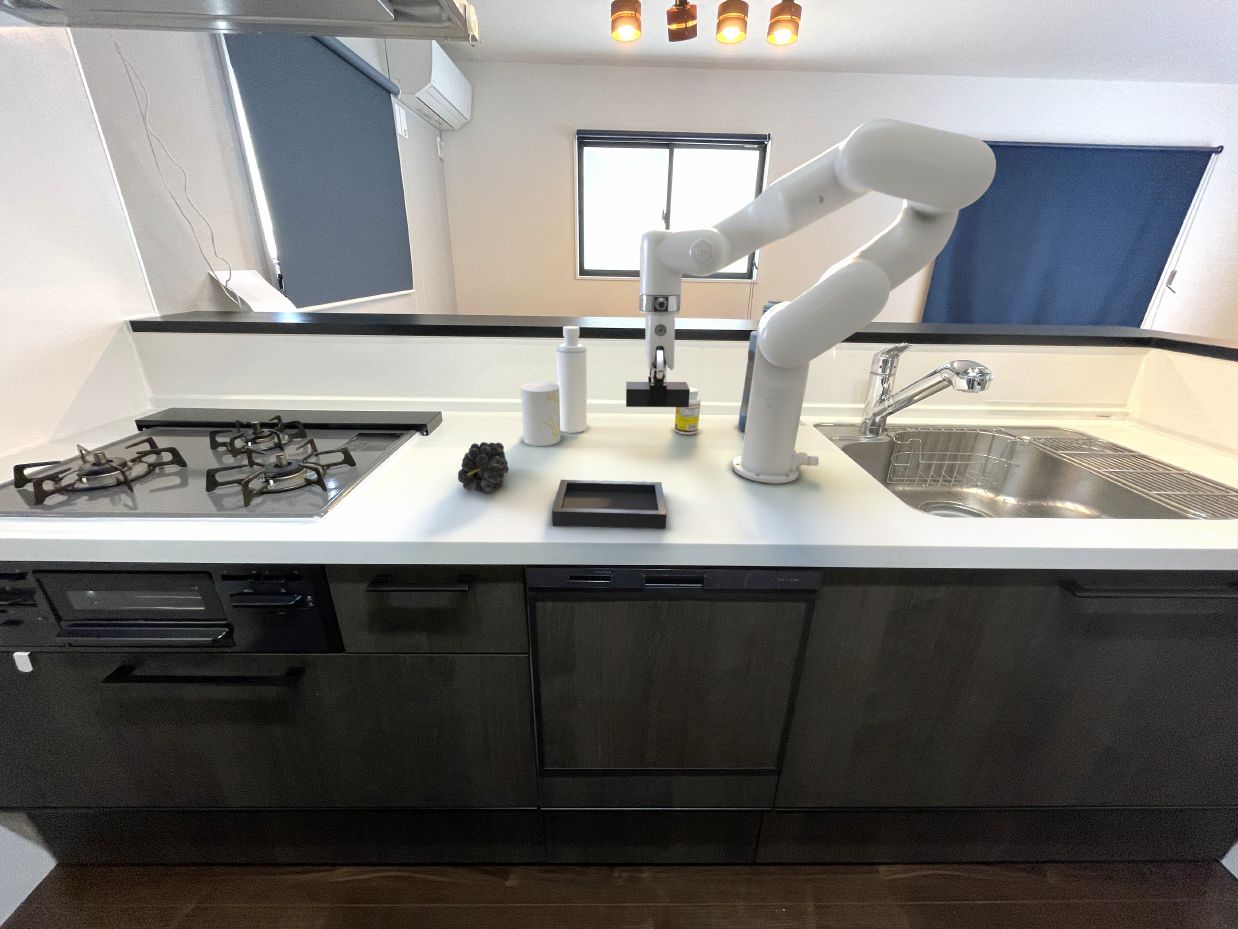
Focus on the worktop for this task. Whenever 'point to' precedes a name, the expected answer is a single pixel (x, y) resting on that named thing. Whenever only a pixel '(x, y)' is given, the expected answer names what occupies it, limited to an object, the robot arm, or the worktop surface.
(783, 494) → the worktop surface
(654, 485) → the shallow rectangular tray
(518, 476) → the worktop surface
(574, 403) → the tall white capped bottle
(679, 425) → the supplement bottle
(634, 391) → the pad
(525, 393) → the cup
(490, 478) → the fruit
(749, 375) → the bottle
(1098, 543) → the worktop surface
